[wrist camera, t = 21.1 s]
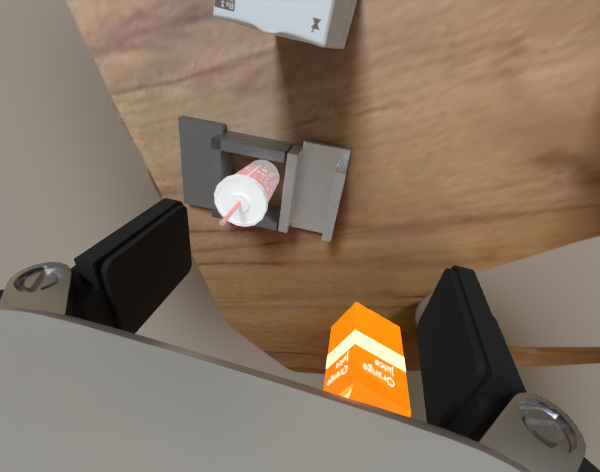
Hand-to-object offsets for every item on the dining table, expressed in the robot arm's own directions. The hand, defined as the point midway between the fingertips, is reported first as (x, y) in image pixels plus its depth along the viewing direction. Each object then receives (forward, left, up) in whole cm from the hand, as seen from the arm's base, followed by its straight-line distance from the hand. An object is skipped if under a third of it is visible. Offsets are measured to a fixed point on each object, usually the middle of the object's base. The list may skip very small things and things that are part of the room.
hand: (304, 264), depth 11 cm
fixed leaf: (+13, +9, -29) cm, 34 cm away
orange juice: (-10, +32, -30) cm, 45 cm away
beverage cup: (+10, +9, -30) cm, 32 cm away
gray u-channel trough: (+2, +9, -29) cm, 31 cm away
